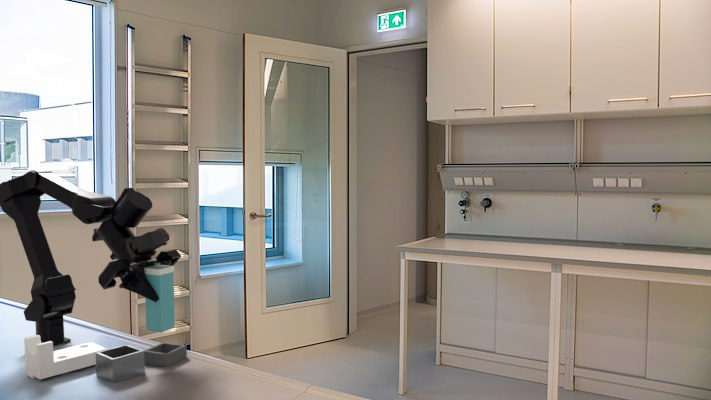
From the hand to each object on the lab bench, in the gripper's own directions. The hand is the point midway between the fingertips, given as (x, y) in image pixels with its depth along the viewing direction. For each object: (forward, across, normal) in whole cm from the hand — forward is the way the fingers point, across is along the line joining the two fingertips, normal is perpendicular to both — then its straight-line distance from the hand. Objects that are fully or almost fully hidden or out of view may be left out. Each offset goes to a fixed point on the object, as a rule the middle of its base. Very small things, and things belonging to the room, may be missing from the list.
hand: (164, 298), depth 117 cm
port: (+7, -9, +12) cm, 17 cm away
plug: (+4, 0, +6) cm, 7 cm away
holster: (+9, +1, +10) cm, 14 cm away
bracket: (-1, -11, +21) cm, 24 cm away
